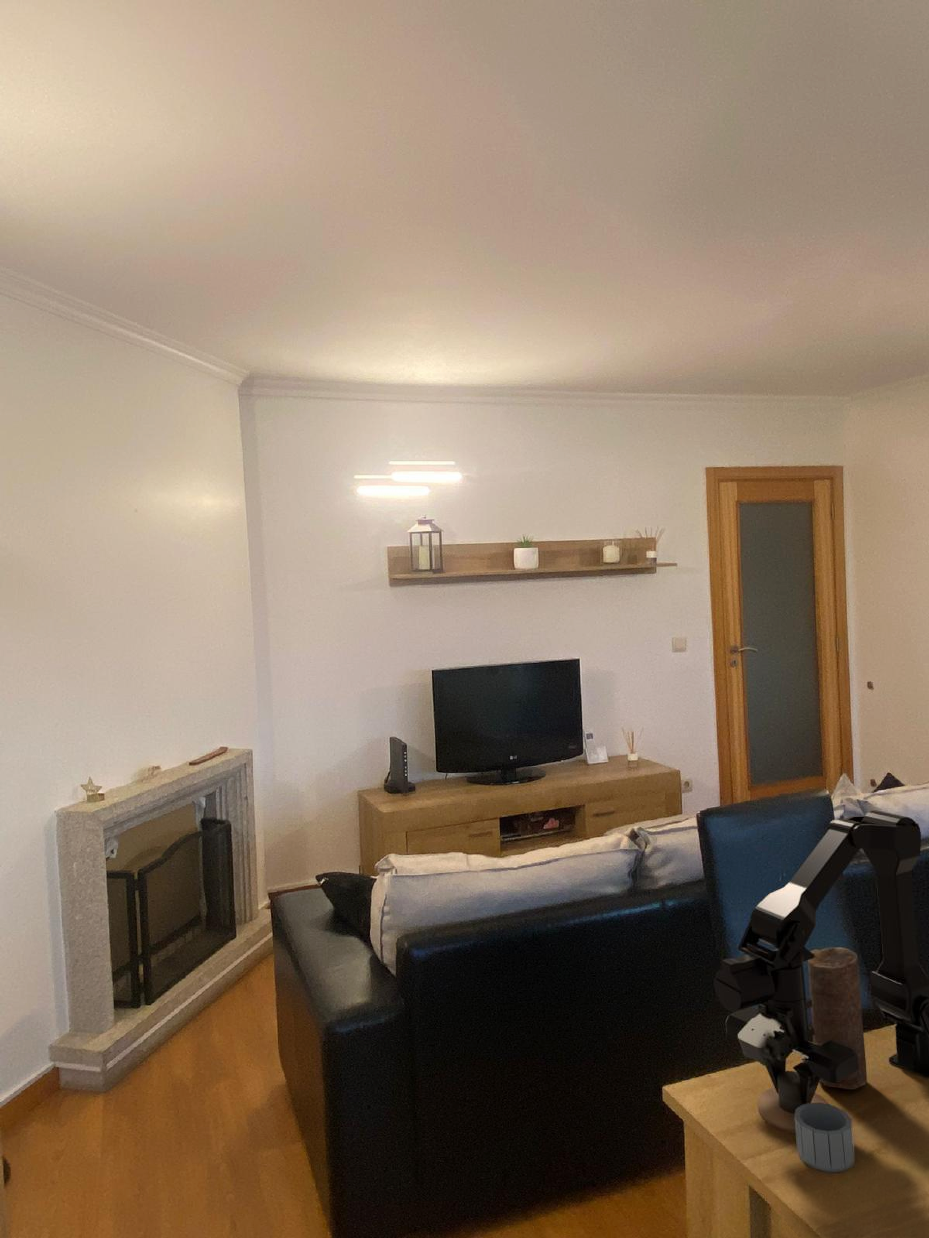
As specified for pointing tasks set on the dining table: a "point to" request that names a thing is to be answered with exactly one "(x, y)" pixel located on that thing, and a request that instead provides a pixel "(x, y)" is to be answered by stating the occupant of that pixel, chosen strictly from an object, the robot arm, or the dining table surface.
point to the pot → (824, 1137)
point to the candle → (838, 1006)
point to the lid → (783, 1102)
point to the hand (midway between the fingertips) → (793, 1099)
